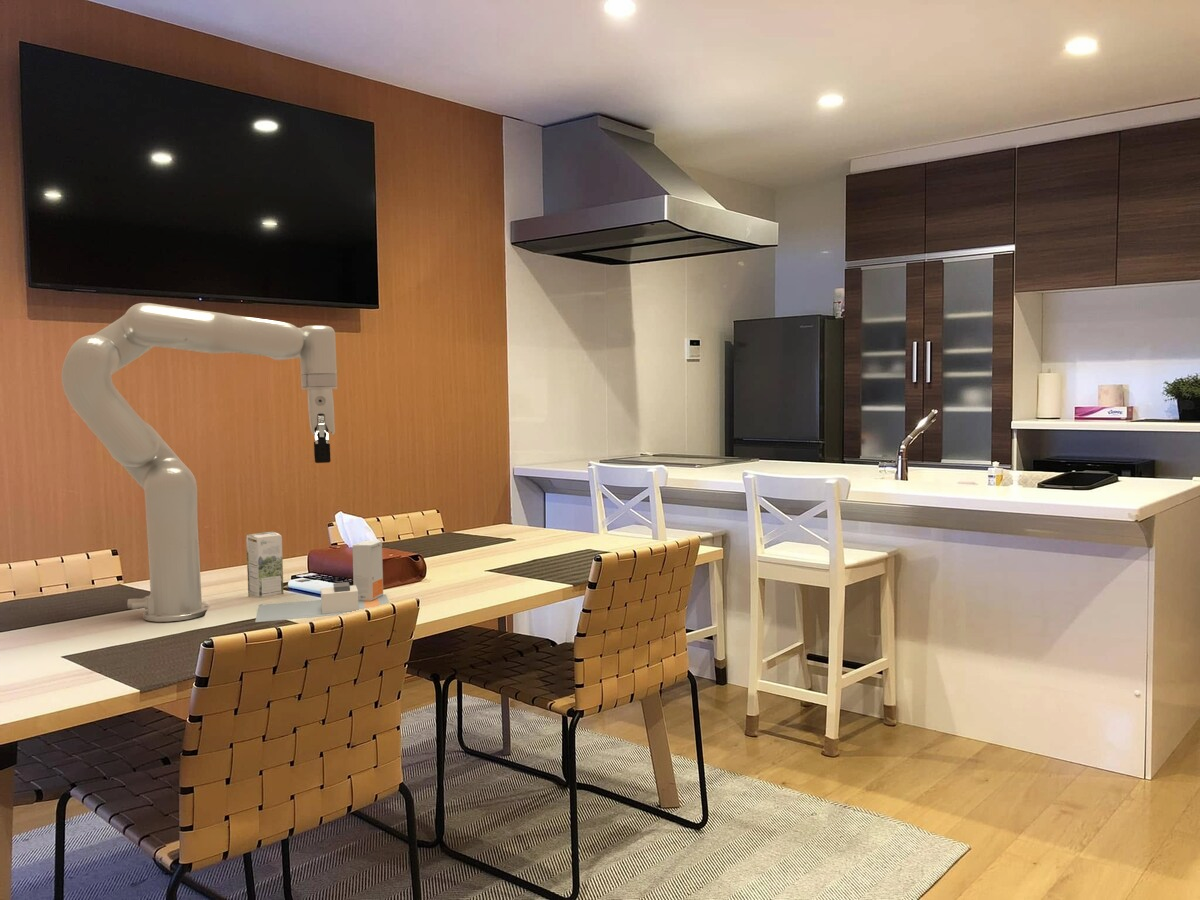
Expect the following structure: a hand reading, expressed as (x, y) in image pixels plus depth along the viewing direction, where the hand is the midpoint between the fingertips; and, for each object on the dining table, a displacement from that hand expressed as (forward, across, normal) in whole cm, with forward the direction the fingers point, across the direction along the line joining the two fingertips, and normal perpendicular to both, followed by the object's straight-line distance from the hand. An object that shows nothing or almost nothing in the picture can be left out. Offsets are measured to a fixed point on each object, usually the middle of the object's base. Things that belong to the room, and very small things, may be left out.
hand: (322, 460), depth 202 cm
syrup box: (+31, +4, +13) cm, 33 cm away
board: (+30, -15, +1) cm, 34 cm away
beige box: (+29, -18, -2) cm, 34 cm away
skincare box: (+29, -10, -8) cm, 32 cm away
